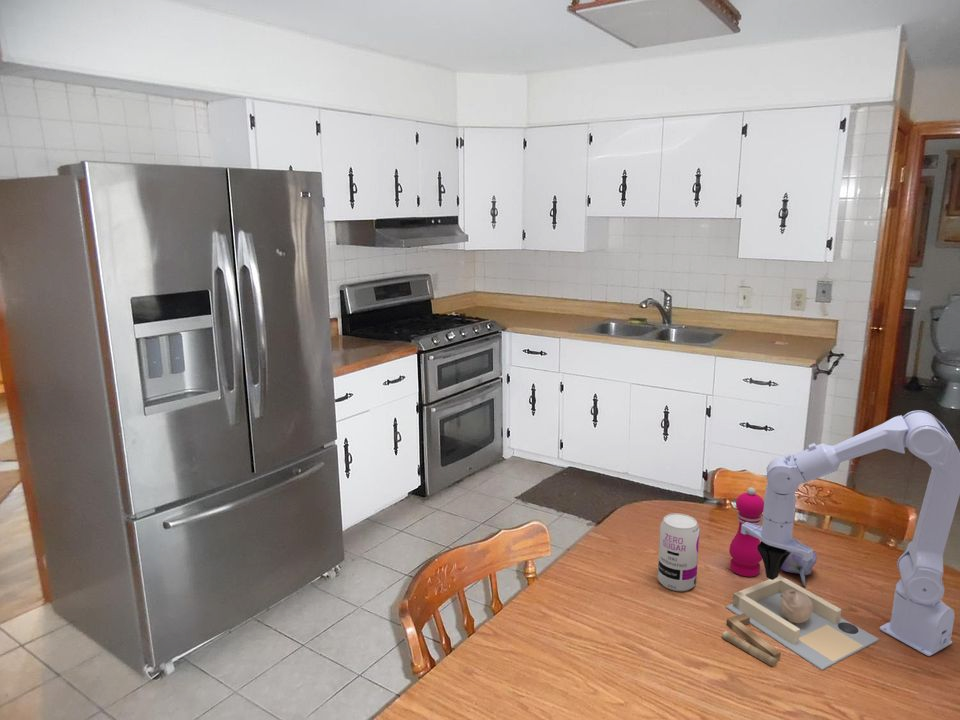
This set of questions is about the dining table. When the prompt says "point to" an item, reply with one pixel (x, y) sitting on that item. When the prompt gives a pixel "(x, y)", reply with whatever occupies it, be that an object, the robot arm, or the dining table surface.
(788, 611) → the garlic bulb
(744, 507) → the pepper mill
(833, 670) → the dining table surface
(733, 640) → the straight stick
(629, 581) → the dining table surface
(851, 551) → the dining table surface
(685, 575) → the supplement can
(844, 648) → the cubby board
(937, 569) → the robot arm
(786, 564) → the flower
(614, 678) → the dining table surface
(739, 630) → the crook tool
